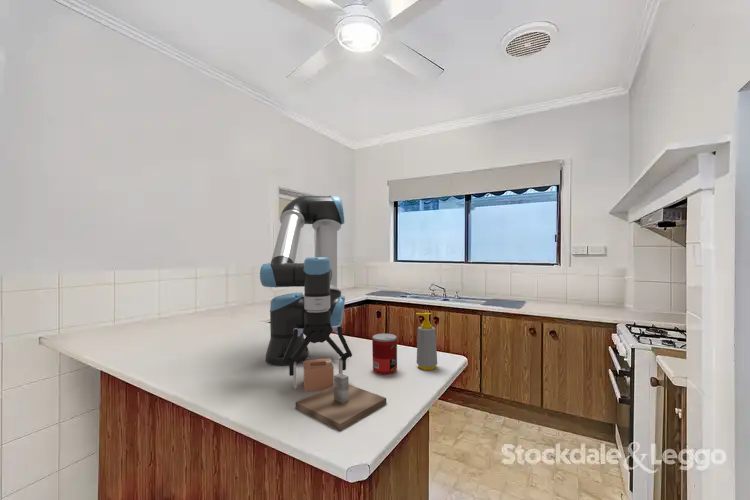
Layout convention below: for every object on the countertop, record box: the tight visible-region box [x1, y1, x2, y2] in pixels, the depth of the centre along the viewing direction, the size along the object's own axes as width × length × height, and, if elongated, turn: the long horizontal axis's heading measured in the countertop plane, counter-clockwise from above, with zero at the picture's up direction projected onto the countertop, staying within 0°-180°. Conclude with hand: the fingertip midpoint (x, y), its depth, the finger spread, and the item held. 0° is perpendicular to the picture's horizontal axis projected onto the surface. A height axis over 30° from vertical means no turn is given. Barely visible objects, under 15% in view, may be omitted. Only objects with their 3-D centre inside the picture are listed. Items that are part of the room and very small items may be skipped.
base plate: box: [294, 372, 387, 431], centre depth 82 cm, size 16×16×8 cm
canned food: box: [371, 333, 398, 375], centre depth 106 cm, size 8×8×11 cm
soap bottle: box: [415, 312, 438, 371], centre depth 108 cm, size 7×7×18 cm
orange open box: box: [303, 357, 335, 392], centre depth 95 cm, size 8×8×6 cm
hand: (318, 383), depth 95 cm, fingers open, 12 cm apart
